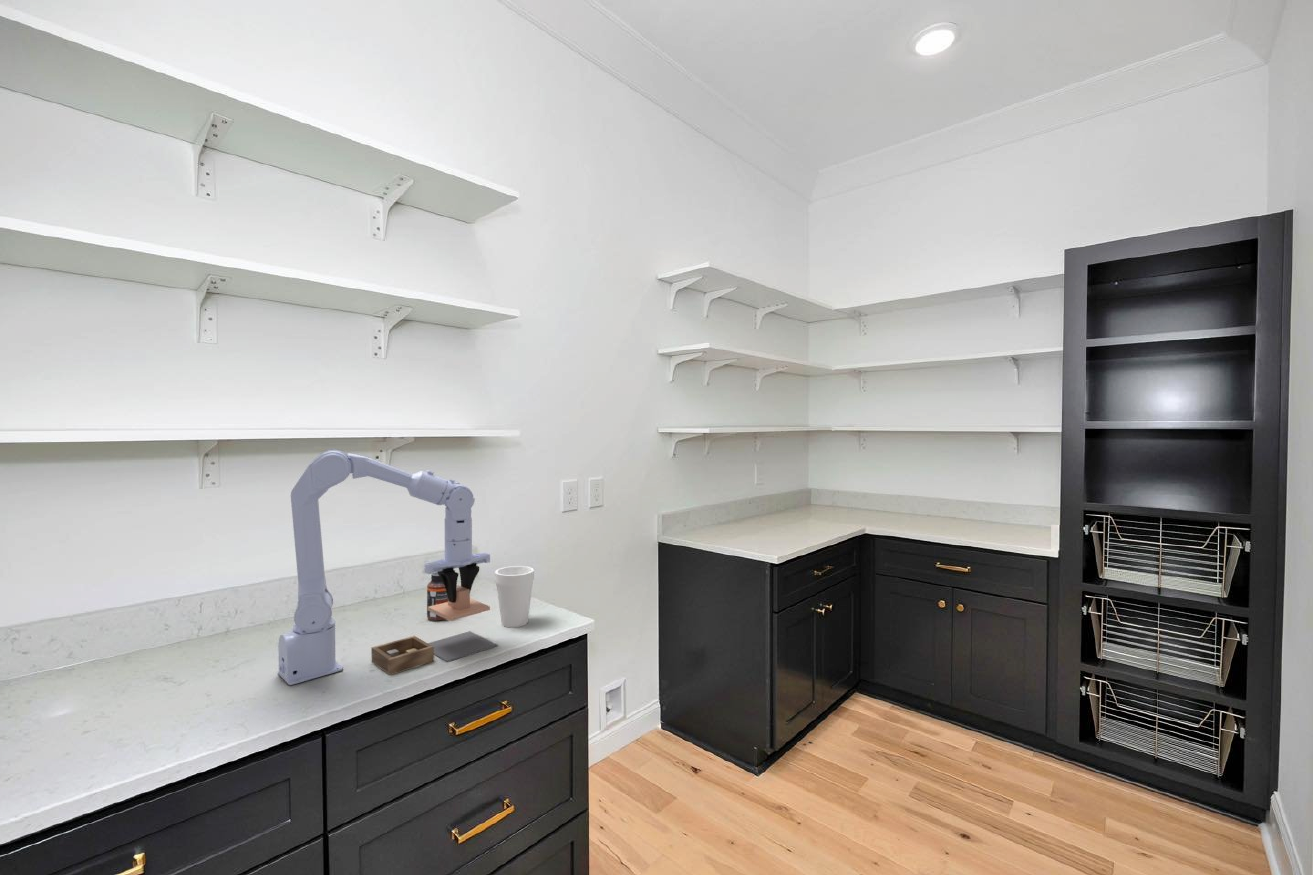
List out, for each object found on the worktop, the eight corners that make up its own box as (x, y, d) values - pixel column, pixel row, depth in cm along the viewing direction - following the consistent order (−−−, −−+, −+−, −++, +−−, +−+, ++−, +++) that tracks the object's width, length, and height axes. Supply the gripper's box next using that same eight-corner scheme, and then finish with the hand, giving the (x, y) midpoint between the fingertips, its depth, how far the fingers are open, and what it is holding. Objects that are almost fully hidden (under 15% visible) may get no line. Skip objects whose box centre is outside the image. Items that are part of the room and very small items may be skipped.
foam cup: (488, 622, 144) (488, 570, 143) (521, 613, 150) (521, 564, 149) (506, 632, 137) (506, 577, 136) (541, 623, 143) (540, 571, 142)
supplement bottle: (435, 623, 142) (435, 577, 142) (422, 618, 146) (421, 573, 146) (456, 616, 147) (456, 572, 147) (443, 612, 151) (443, 569, 151)
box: (389, 674, 114) (389, 659, 113) (371, 661, 120) (371, 647, 120) (433, 661, 120) (433, 646, 120) (414, 649, 126) (414, 635, 126)
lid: (449, 623, 121) (448, 597, 121) (427, 613, 127) (427, 588, 127) (489, 612, 128) (489, 588, 128) (467, 603, 135) (467, 580, 134)
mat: (446, 662, 120) (446, 660, 120) (420, 646, 128) (420, 645, 128) (497, 645, 128) (497, 644, 128) (469, 632, 136) (469, 631, 136)
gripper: (435, 546, 119) (435, 611, 120) (497, 536, 130) (497, 596, 130) (419, 541, 124) (420, 604, 124) (480, 532, 135) (481, 590, 135)
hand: (458, 599), depth 128 cm, fingers closed on lid, 2 cm apart
